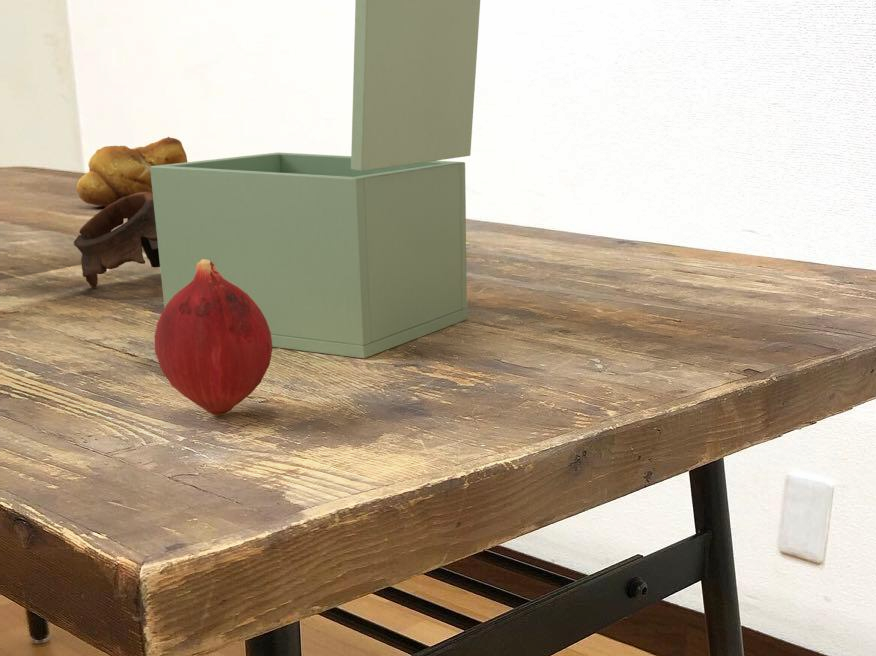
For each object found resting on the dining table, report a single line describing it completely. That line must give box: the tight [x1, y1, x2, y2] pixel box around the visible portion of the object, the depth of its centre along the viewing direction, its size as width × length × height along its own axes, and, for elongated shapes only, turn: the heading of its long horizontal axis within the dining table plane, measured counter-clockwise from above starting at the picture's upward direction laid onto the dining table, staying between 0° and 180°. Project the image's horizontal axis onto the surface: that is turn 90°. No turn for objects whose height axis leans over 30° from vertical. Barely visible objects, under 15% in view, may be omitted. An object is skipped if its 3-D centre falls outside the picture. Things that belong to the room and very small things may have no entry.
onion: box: [154, 259, 274, 417], centre depth 63 cm, size 6×6×8 cm
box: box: [150, 152, 468, 359], centre depth 84 cm, size 16×14×11 cm
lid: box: [350, 0, 481, 171], centre depth 75 cm, size 16×14×1 cm
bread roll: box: [76, 136, 188, 207], centre depth 148 cm, size 13×10×8 cm
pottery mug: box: [73, 192, 160, 289], centre depth 99 cm, size 12×10×8 cm
